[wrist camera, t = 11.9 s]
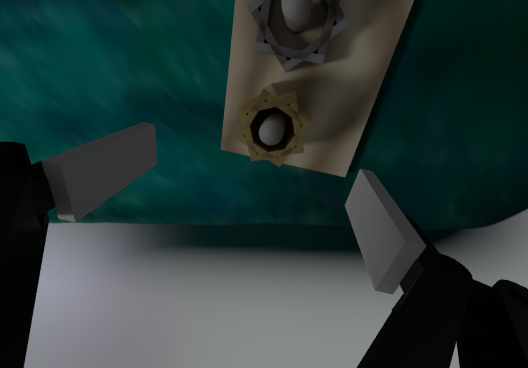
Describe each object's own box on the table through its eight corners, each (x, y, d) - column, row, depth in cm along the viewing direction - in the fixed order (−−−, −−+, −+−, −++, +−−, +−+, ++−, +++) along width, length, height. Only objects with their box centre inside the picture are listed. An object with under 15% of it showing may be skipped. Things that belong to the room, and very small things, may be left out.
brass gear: (254, 152, 32) (243, 172, 26) (239, 91, 29) (223, 97, 23) (313, 142, 31) (317, 161, 24) (304, 75, 27) (306, 78, 21)
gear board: (223, 146, 34) (199, 172, 26) (243, -48, 24) (215, -109, 16) (343, 172, 34) (358, 207, 25) (414, -15, 24) (479, -61, 15)
